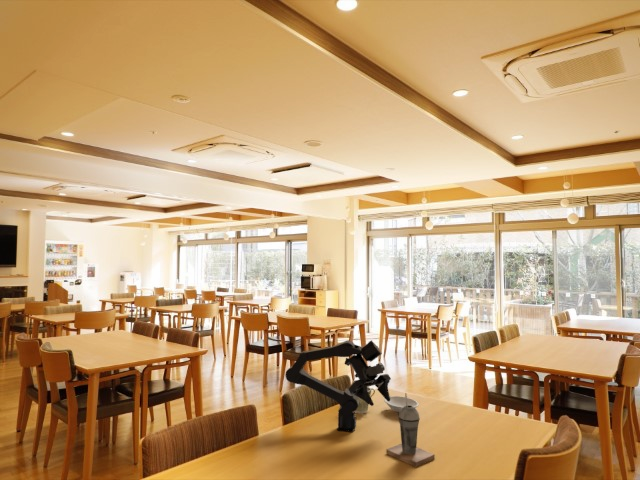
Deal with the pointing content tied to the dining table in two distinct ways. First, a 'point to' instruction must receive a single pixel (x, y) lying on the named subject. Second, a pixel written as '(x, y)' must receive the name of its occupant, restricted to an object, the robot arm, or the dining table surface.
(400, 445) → the walnut board
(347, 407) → the robot arm
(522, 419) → the dining table surface
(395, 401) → the dish
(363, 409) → the ceramic cup
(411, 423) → the beverage cup
